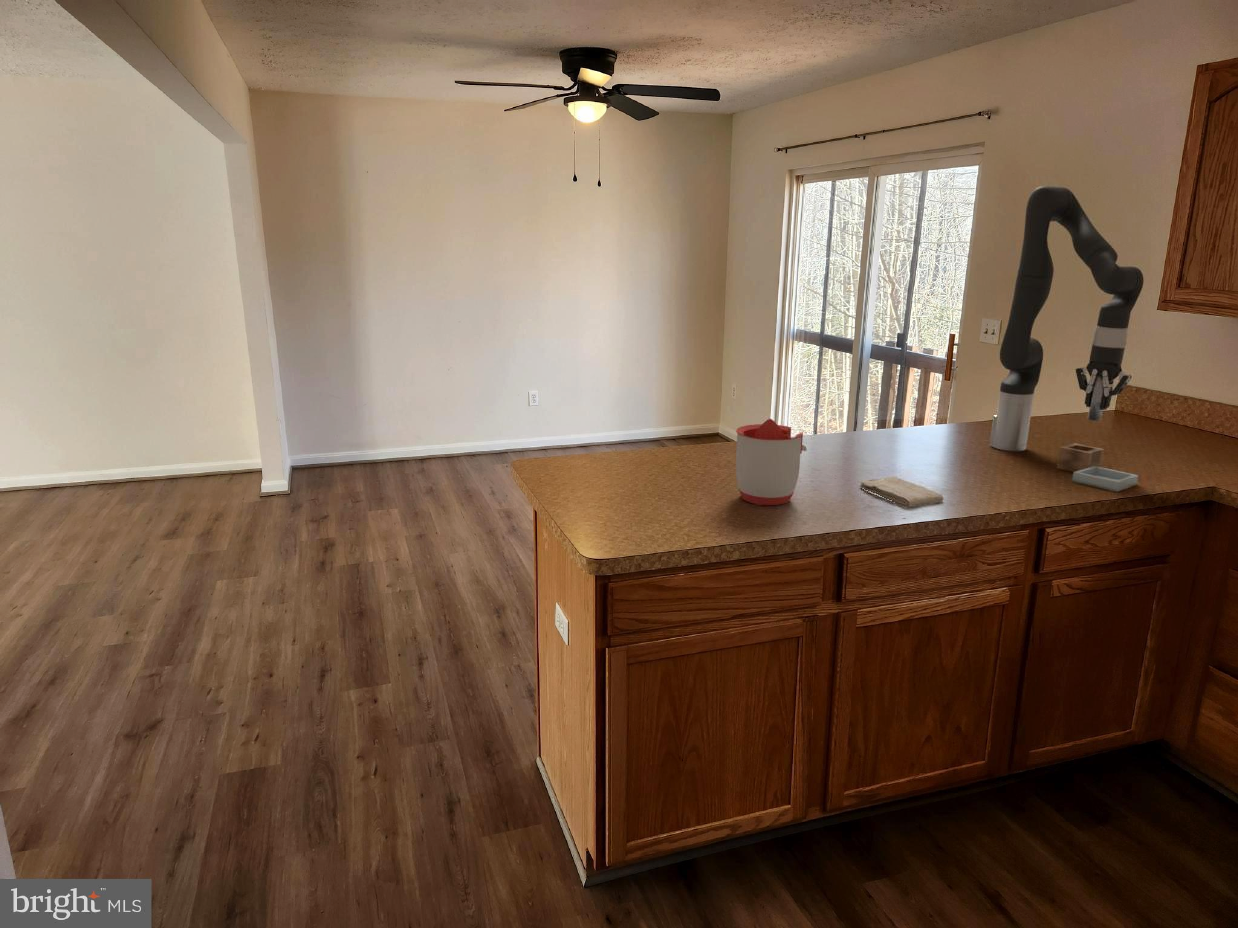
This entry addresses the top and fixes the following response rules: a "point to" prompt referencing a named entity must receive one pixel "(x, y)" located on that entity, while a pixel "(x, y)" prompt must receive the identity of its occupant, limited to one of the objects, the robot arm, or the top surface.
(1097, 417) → the pin
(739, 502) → the top surface
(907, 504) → the washcloth
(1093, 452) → the square hollow tube
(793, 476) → the citrus juicer
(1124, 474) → the tray
